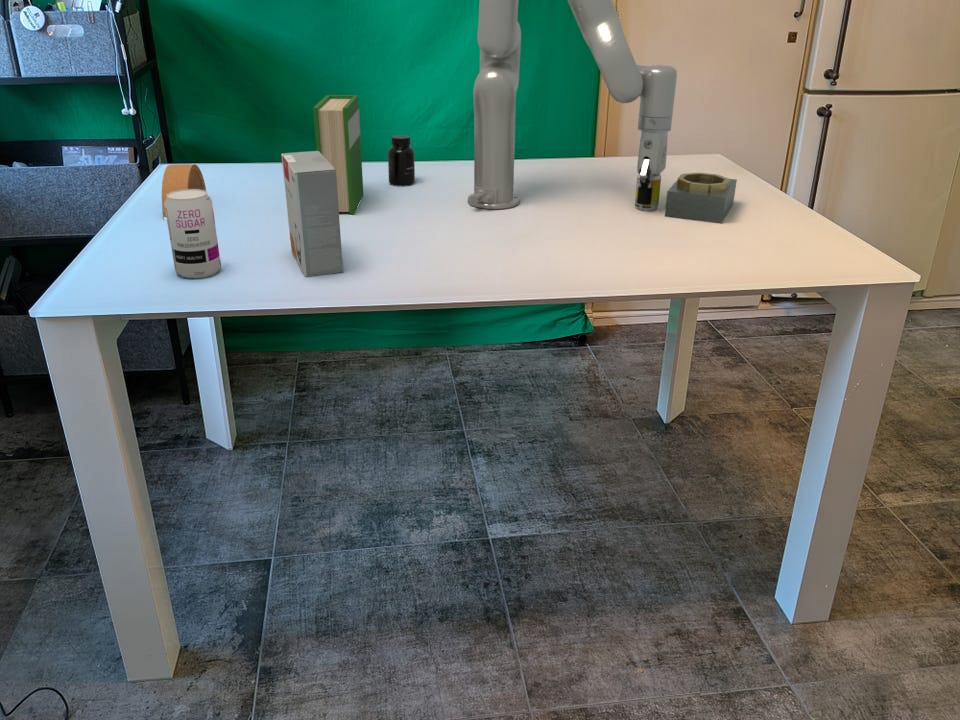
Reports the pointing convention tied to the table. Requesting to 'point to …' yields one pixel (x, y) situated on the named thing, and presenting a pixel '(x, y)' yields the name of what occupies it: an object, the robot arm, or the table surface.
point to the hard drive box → (313, 212)
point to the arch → (181, 180)
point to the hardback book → (341, 145)
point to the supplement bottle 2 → (655, 193)
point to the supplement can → (192, 233)
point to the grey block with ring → (700, 197)
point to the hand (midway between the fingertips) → (647, 200)
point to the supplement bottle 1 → (401, 161)
